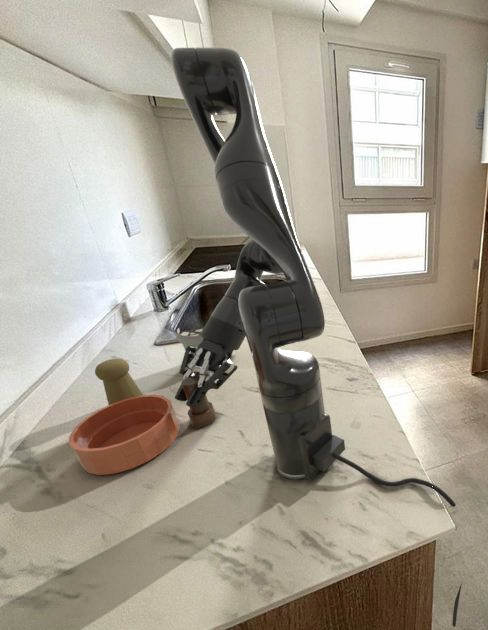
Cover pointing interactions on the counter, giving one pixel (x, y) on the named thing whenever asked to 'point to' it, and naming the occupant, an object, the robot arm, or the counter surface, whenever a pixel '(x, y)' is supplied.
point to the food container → (190, 337)
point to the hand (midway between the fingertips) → (186, 402)
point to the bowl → (124, 434)
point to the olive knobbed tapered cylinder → (117, 380)
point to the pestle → (205, 410)
